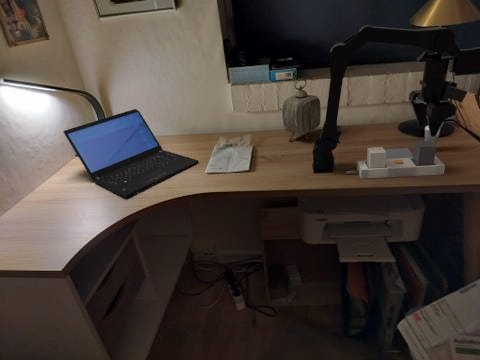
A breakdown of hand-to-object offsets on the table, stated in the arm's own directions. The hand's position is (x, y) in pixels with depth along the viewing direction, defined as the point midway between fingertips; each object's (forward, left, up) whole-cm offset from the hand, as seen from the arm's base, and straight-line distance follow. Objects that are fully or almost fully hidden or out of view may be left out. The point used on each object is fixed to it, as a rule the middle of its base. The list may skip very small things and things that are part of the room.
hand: (426, 130), depth 99 cm
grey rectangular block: (0, 0, -13) cm, 13 cm away
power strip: (-9, 0, -13) cm, 16 cm away
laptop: (-101, +14, -14) cm, 103 cm away
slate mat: (-4, +12, -13) cm, 18 cm away
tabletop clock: (-35, +35, -13) cm, 51 cm away
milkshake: (+8, +15, -13) cm, 21 cm away
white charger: (-14, 0, -13) cm, 19 cm away
